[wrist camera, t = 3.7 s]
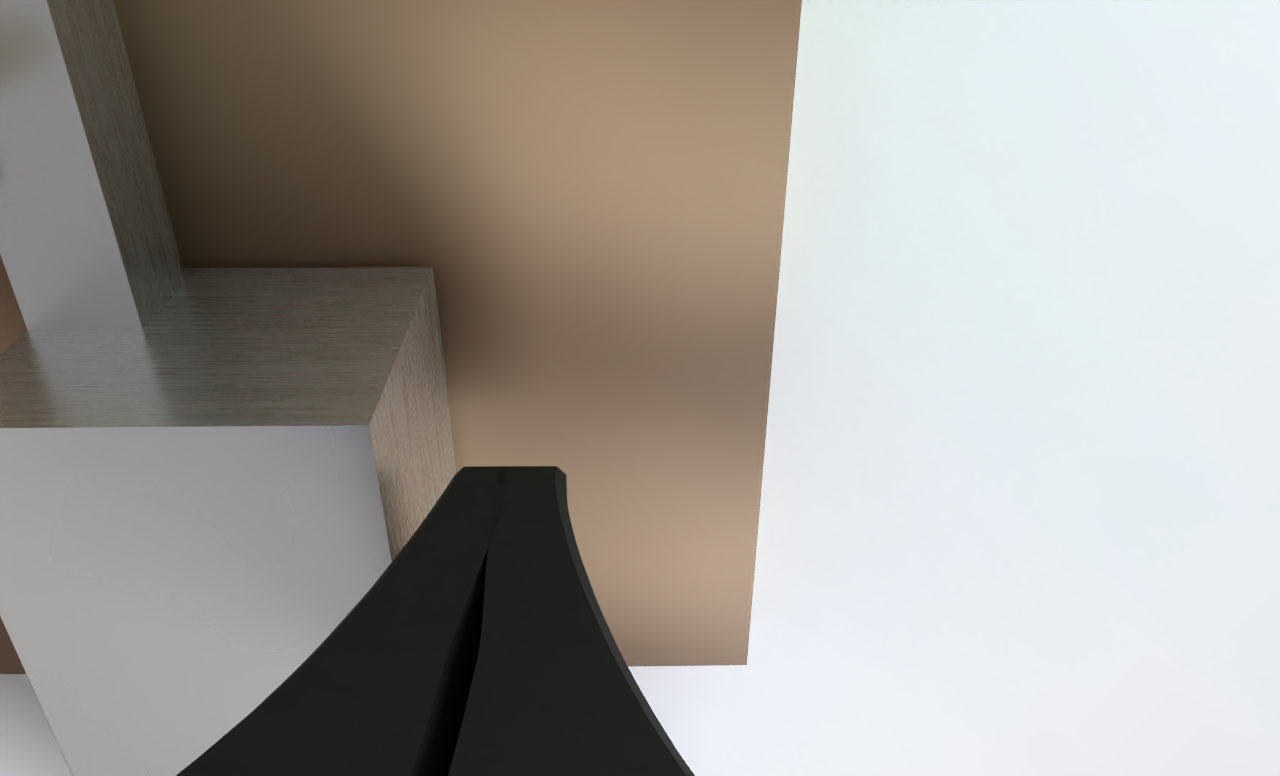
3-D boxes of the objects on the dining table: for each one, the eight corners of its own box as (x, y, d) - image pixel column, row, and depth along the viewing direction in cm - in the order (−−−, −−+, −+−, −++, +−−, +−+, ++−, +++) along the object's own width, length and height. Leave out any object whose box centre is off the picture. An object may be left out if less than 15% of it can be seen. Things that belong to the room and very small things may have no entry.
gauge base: (739, 619, 16) (783, 908, 12) (-163, 630, 16) (-448, 929, 12) (811, -337, 10) (965, -452, 5) (-725, -347, 9) (-1838, -475, 5)
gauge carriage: (469, 581, 14) (429, 787, 11) (194, 584, 14) (80, 792, 11) (390, -105, 10) (285, -66, 7) (-18, -107, 10) (-309, -67, 7)
